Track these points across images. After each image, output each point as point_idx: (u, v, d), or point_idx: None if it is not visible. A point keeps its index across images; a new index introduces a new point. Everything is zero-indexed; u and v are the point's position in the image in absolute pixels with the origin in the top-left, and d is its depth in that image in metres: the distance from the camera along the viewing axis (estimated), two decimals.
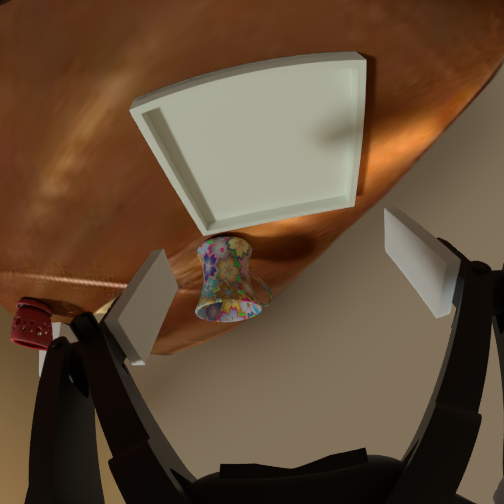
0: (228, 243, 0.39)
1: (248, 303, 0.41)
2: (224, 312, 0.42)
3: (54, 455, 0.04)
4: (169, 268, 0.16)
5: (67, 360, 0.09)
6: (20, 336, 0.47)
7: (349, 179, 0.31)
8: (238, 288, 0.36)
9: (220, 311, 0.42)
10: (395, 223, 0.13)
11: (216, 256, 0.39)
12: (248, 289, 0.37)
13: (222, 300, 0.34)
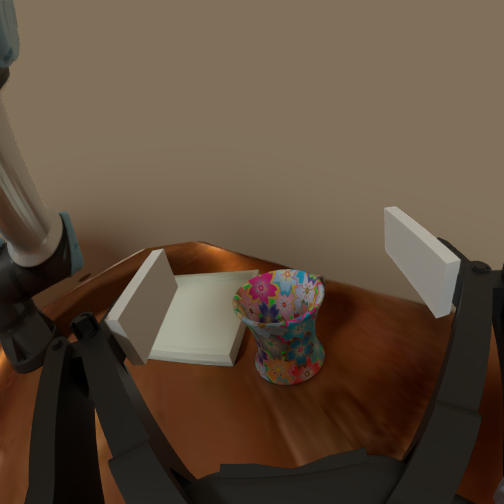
0: None
1: (306, 291, 0.30)
2: None
3: (54, 455, 0.04)
4: (170, 268, 0.16)
5: (67, 360, 0.09)
6: None
7: (234, 276, 0.50)
8: None
9: None
10: (395, 223, 0.13)
11: None
12: None
13: (235, 294, 0.29)
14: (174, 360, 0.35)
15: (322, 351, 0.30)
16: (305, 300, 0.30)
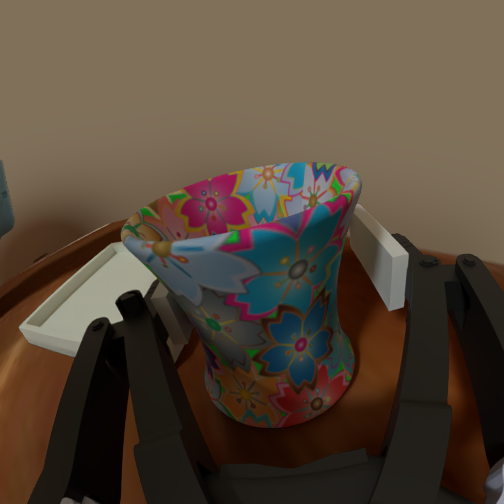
0: None
1: (311, 204, 0.13)
2: None
3: (76, 443, 0.05)
4: None
5: (106, 343, 0.09)
6: None
7: None
8: None
9: None
10: (355, 220, 0.14)
11: None
12: None
13: None
14: None
15: (349, 349, 0.13)
16: None
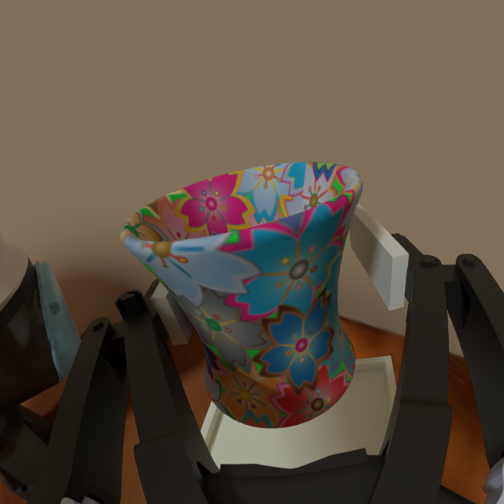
0: None
1: (312, 203, 0.13)
2: None
3: (76, 443, 0.05)
4: None
5: (106, 343, 0.09)
6: None
7: None
8: None
9: None
10: (355, 220, 0.14)
11: None
12: None
13: None
14: None
15: (350, 349, 0.13)
16: None
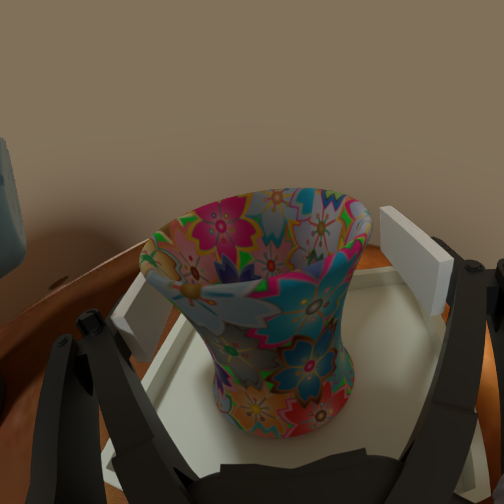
0: None
1: (319, 230, 0.13)
2: None
3: (57, 453, 0.05)
4: None
5: (72, 357, 0.09)
6: None
7: (368, 279, 0.22)
8: None
9: None
10: (389, 223, 0.13)
11: None
12: None
13: None
14: None
15: (350, 364, 0.14)
16: (317, 251, 0.13)
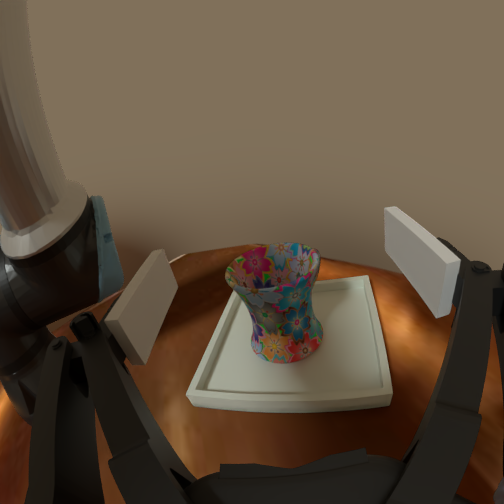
0: None
1: (301, 263, 0.29)
2: None
3: (54, 455, 0.04)
4: (170, 268, 0.16)
5: (67, 360, 0.09)
6: None
7: (337, 285, 0.38)
8: None
9: None
10: (395, 223, 0.13)
11: None
12: None
13: (228, 266, 0.29)
14: (300, 410, 0.23)
15: (320, 328, 0.30)
16: (300, 273, 0.29)
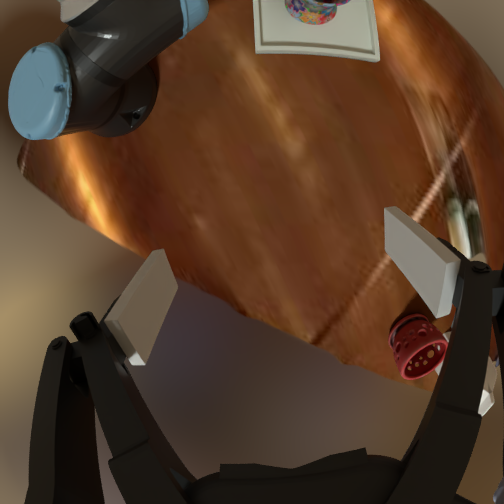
0: None
1: None
2: None
3: (54, 455, 0.04)
4: (170, 268, 0.16)
5: (67, 360, 0.09)
6: (407, 354, 0.49)
7: None
8: None
9: None
10: (395, 223, 0.13)
11: None
12: None
13: None
14: (327, 55, 0.35)
15: None
16: None
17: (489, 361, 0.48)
